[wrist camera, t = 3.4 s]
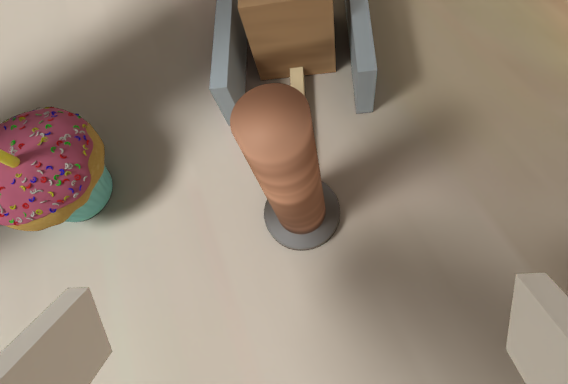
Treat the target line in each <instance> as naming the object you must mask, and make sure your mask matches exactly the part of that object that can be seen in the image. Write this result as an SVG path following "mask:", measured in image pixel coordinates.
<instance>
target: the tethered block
mask: <svg viewBox="0 0 568 384" xmlns="http://www.w3.org/2000/svg"><path fill="white" fill-rule="evenodd" d="M238 11H239V14H240V17H241V20H242V23H243V26H244V29H245V33H246V36H247V39H248V42H249V45H250V48H251V51H252V54H253V57H254V60H255V64H256V67H257V70H258V73H259V76H260V79H261V80H269V79H278V78H287V77H290V86H289V85H286V84H281V83H269V84H263V85H260V86H257V87H255V88H253V89H251V90H249V91H248V92H246V93H245V94H244V95H243V96H242V97H241V98H240V99H239V100H238V101H237V102H236V104H235V106H234V107H233V110H232V113H231V116H230V127H231V131H232V134H233V135H234V137H235V139H236V141H237V143H238V145H239V147H240V149H241V150H242V152H243V154H244V156H245V158H246V160H247V162H248V164H249V165H250V167H251V169H252V171H253V173H254V175H255V177H256V179H257V180H258V182H259V184H260V186H261V188H262V190H263V192H264V194H265V195H266V197H267V201H266V204H265V209H264V219H265V223H266V226H267V228H268V230H269V232H270V233H271V235H272V236H273V238H274V239H275V240H276V241H277V242H279V243H280V244H281V245H283V246H285V247H287V248H289V249H293V250H310V249H314V248H316V247H319V246H321V245H322V244H324V243H325V242H327V241H328V240H329V239H330V238H331V236H332V235H333V234H334V232H335V231H336V229H337V226H338V223H339V218H340V208H339V203H338V199H337V197H336V195H335V193H334V192H333V190H332V189H331V188H330V187H329V186H328V185H327V184H325V183H324V182H322V181H321V176H320V170H319V163H318V157H317V151H316V144H315V138H314V131H313V125H312V119H311V112H310V107H309V103H308V101H307V99H306V98H305V83H304V75H313V74H322V73H331V72H336V61H335V38H334V14H333V0H238Z"/></svg>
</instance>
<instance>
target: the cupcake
mask: <svg viewBox="0 0 568 384" xmlns="http://www.w3.org/2000/svg"><path fill="white" fill-rule="evenodd" d="M38 109H39V110H38ZM104 155H105V151H104V144H103V142H102V140H101V138H100V137H99V135H98V134H97V132H96V131H95V130H94V129H93V127H92V126H91V125H90V124H89V123H88V122H87V121H85V120H84V119H83V118H81V117H80V116H79V114H73V113H71V112H68V111H66V110H63V109H58V108H54V107H45V108H44V109H43V108H37V109H36V110H33V111H29V112H24V113H22V114H19V115H17V116H14V117H12V118H10V119H7V120H6V121H5V122H3V123H1V124H0V224H1V225H5V226H8V227H10V228H13V229H17V230H24V231H39V230H43V229H46V228H48V227H51V226H54V225H58V224H61V223H63V222H64V221H68V222H80V221H84V220H87V219H89V218H91V217H93V216H95V215H96V214H97V213H99V212H100V211H101V210H102V209H103V208H104V206H105V205H106V203H107V202H108V200H109V198H110V196H111V192H112V178H111V175H110V173H109V172H108V170H107V168H106V166H105V165H104Z"/></svg>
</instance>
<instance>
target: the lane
mask: <svg viewBox="0 0 568 384" xmlns="http://www.w3.org/2000/svg"><path fill="white" fill-rule="evenodd" d="M345 9H346V18H347V28H348V38H349V47H350V57H351V67H352V77H353V86H354V96H355V106H356V114H357V113H367V112H373V106H374V97H375V88H376V78H377V64H376V56H375V49H374V42H373V34H372V27H371V20H370V12H369V5H368V0H345ZM246 56H247V36H246V33H245V29H244V26H243V23H242V20H241V17H240V14H239V11H238V0H217V1H216V13H215V26H214V38H213V50H212V62H211V75H210V87H209V90H210V91H211V93H212V95H213V97H214V99H215V101H216V103H217V105H218V106H219V108H220V110H221V112H222V114H223V116H224V118H225V120H226V121H227V123H228V125H229V126H230V116H231V113H232V110H233V107H234V106H235V104H236V102H237V101H238V100H239V99H240V98H241V97H242V96H243V95H244V94H245V84H246Z"/></svg>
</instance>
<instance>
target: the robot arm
mask: <svg viewBox="0 0 568 384" xmlns="http://www.w3.org/2000/svg"><path fill="white" fill-rule="evenodd" d="M506 350H507V352H508V354H509V356H510V357H511V359H512V361H513V363H514V364H515V366H516V368H517V370H518V371H519V373H520V375H521V377H522V378H523V380H524V382H525V384H568V296H567V295H566V294H565V293H564V292H563V291H562V290H561V289H560V288H559V287H558V285H557V284H556V283H555V282H554V281H553V280H552V279H551V278H550V277H549V276H548V275H547V274H546V273H519V274H516V277H515V284H514V291H513V299H512V306H511V314H510V321H509V329H508V336H507V344H506ZM111 353H112V349H111V346H110V343H109V341H108V338H107V335H106V333H105V330H104V327H103V324H102V322H101V319H100V316H99V313H98V311H97V308H96V305H95V302H94V300H93V297H92V294H91V291H90V289H89V287H79V288H67V289H66V290H65V291H64V292H63V293H62V294H61V295H60V296H59V297H58V298H57V299H56V300H55V301H54V302H53V303H52V304H51V305H50V306H48V307H47V308H46V309H45V310H44V311H43V312H42V313H41V314H40V315H39V316H38V317H37V318H36V319H35V320H34V321H33V322H32V323H31V324H30V325H29V326H28V327H27V328H26V329H24V330H23V331H22V332H21V333H20V334H19V335H18V336H17V337H16V338H15V339H14V340H13V341H12V342H11V343H10V344H9V345H8V346H7V347H6V348H5V349H4V350H3V351H2V352H0V384H90V383H91V382H92V380H93V379H94V377H95V376H96V374H97V373H98V371H99V370H100V368H101V367H102V366H103V364H104V363H105V361H106V360H107V358H108V357H109V355H110V354H111Z"/></svg>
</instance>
